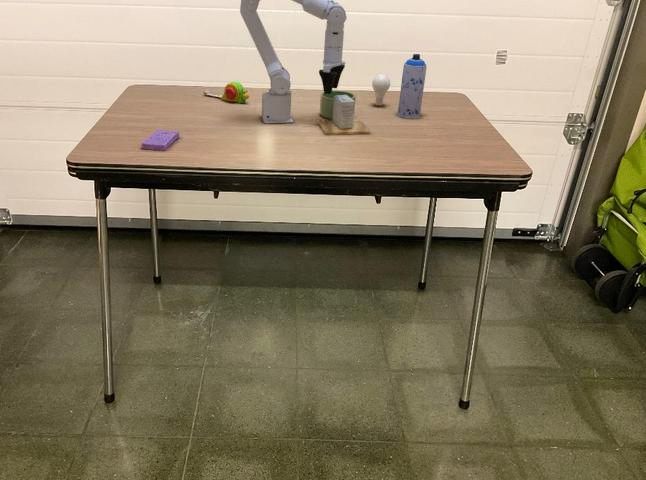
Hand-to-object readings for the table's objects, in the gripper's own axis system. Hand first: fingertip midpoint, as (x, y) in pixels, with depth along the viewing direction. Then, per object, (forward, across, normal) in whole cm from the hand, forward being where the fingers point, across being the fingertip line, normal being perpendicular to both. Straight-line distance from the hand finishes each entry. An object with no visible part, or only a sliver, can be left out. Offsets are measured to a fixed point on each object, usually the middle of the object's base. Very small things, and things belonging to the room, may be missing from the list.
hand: (330, 90), depth 195 cm
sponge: (+10, -41, +40) cm, 58 cm away
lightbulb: (+10, +25, -12) cm, 29 cm away
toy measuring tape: (+10, +10, +41) cm, 43 cm away
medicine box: (+9, -5, -6) cm, 12 cm away
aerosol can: (+10, +17, -24) cm, 31 cm away
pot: (+10, +6, -1) cm, 12 cm away
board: (+10, -6, -7) cm, 13 cm away
